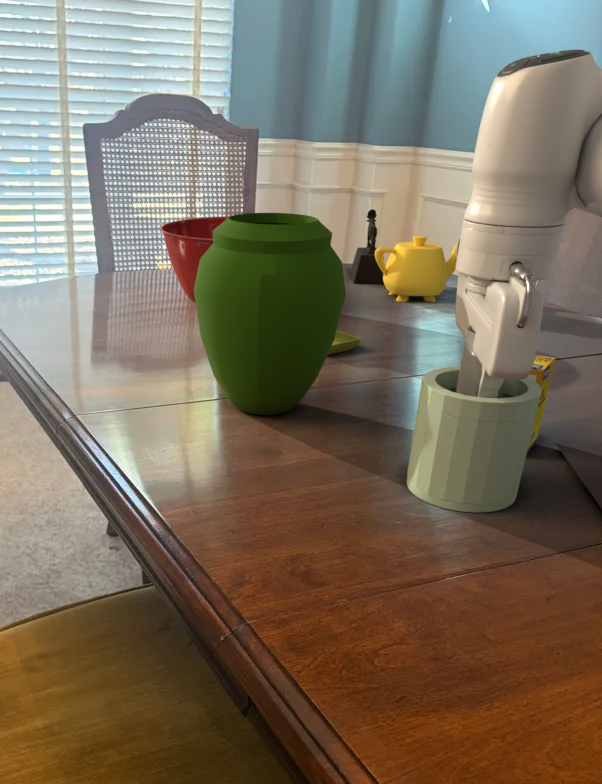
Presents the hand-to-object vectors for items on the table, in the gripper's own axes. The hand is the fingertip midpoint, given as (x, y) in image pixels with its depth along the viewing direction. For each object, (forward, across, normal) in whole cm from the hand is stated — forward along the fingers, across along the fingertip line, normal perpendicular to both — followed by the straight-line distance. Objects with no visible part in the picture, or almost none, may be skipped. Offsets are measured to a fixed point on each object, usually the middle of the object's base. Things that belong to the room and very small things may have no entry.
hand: (479, 394), depth 80 cm
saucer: (+11, +53, +14) cm, 56 cm away
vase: (+11, +23, +23) cm, 34 cm away
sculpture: (+11, +115, +3) cm, 116 cm away
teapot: (+11, +96, -6) cm, 97 cm away
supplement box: (+11, +13, -8) cm, 19 cm away
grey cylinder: (+4, 0, 0) cm, 4 cm away
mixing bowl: (+11, +82, +33) cm, 89 cm away
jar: (+11, 0, 0) cm, 11 cm away
